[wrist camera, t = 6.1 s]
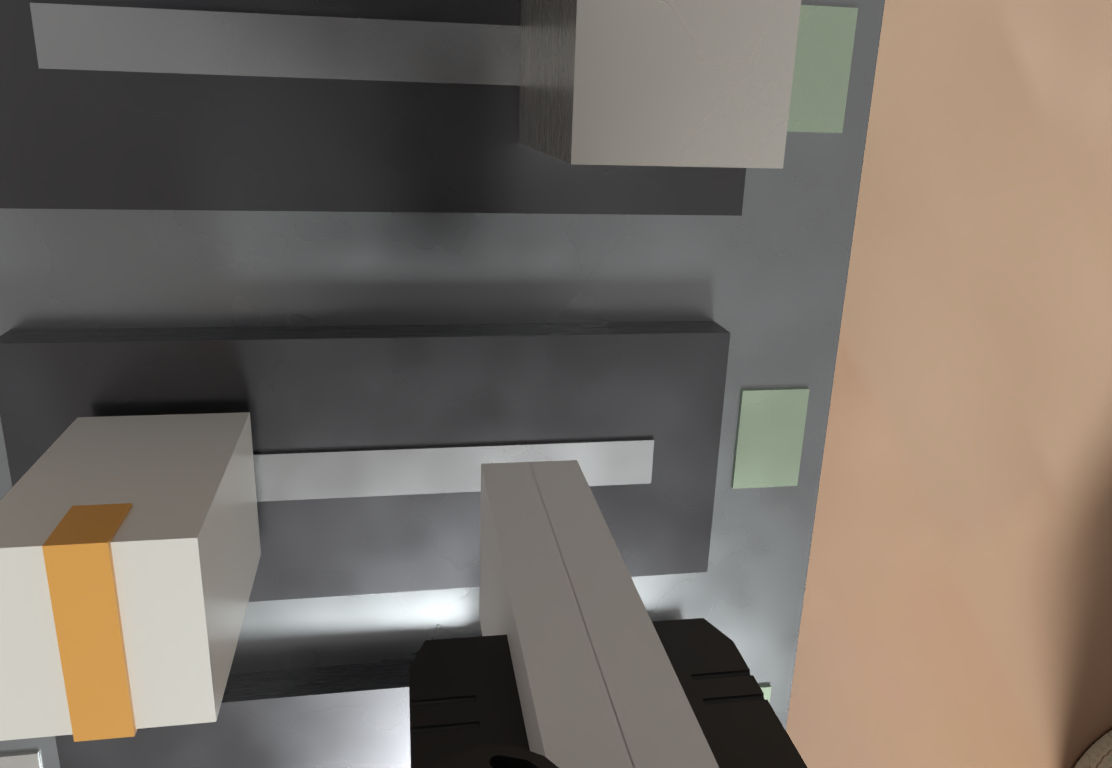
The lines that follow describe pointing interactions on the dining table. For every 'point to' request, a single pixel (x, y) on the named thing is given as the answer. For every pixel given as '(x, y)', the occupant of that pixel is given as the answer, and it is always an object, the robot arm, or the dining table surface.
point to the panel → (437, 305)
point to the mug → (1098, 754)
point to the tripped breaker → (126, 575)
